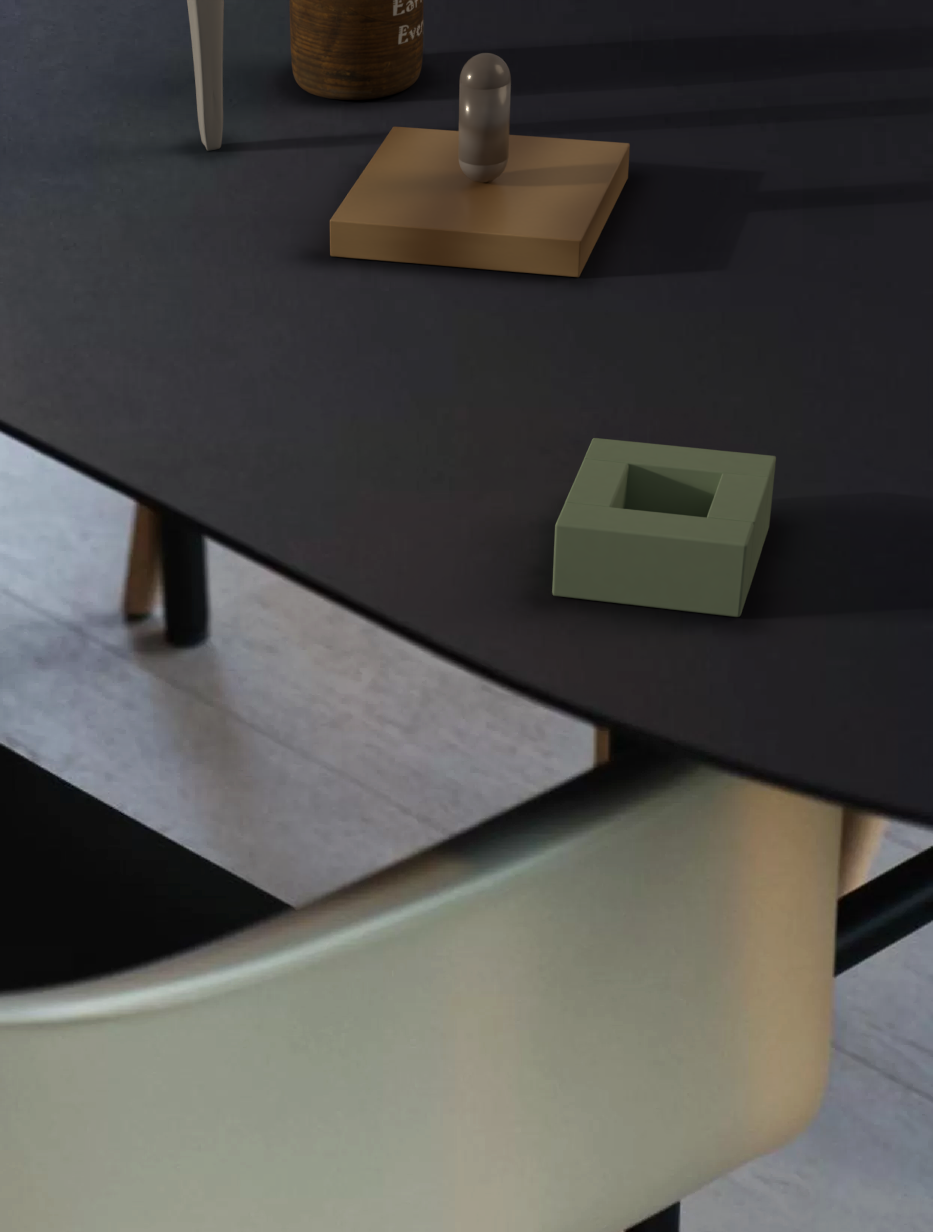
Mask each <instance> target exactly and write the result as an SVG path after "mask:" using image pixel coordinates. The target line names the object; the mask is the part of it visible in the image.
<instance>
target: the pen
mask: <svg viewBox="0 0 933 1232" xmlns="http://www.w3.org/2000/svg"><path fill="white" fill-rule="evenodd" d="M186 3H187V9H188V10H187V11H188V12H187V13H188V22H189V30H190V38H191V47H192V48H191V50H192V57H193V58H192V59H193V60H192V61H193V71H194V80H195V94H196V95H195V96H196V109H197V110H196V111H197V112H196V113H197V121H198V130H199V134H200V139H201V143H202V144H203V146H204V147H205V149H206V151H208V152H210V151H215V150H220V148H221V147H222V141H223V132H224V131H223V130H224V129H223V128H224V96H223V95H224V91H223V90H224V87H223V84H224V83H223V82H224V81H223V77H224V76H223V75H224V73H223V72H224V71H223V70H224V69H223V67H224V62H223V61H224V17H225V16H224V13H225V12H224V11H225V0H186Z"/></svg>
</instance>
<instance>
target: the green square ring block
mask: <svg viewBox="0 0 933 1232" xmlns="http://www.w3.org/2000/svg"><path fill="white" fill-rule="evenodd" d="M776 461H777V457H776V456H775V455H768V454H760V453H759V454H758V453H749V452H739V451H738V452H737V451H730V450H729V451H728V450H719V449H718V450H717V449H709V448H708V449H707V448H700V447H699V448H698V447H688V446H679V445H668V444H660V443H649V442H641V441H640V442H639V441H629V440H619V439H607V438H598V437H593V438H592V439H591V441H590V444H589V446H588V449H587V451H586V453H585V455H584V458H583V460H582V463H581V465H580V467H579V469H578V471H577V474H576V476H575V479H574V481H573V482H572V486H571V488H570V490H569V492H568V495H567V497H566V499H565V501H564V503H563V505H562V509H561V511H560V513H559V515H558V518H557V520H556V522H555V525H554V544H553V545H554V546H553V566H552V567H553V568H552V589H551V590H552V591H551V594H552V595H553V596H554V597H561V598H569V599H578V600H585V601H594V602H602V603H603V602H604V603H612V604H619V605H620V604H621V605H630V606H637V607H647V608H654V609H655V608H656V609H663V610H673V611H682V612H688V613H689V612H690V613H699V614H706V615H714V616H715V615H716V616H723V617H732V618H739V617H741V615H742V612H743V609H744V606H745V603H746V600H747V597H748V594H749V591H750V588H751V585H752V582H753V579H754V576H755V573H756V569H757V567H758V563H759V560H760V558H761V554H762V551H763V547H764V544H765V541H766V538H767V535H768V531H769V529H770V523H771V511H772V502H773V493H774V491H773V490H774V483H775V471H776V463H777V462H776Z"/></svg>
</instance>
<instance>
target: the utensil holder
mask: <svg viewBox="0 0 933 1232" xmlns="http://www.w3.org/2000/svg"><path fill="white" fill-rule="evenodd" d="M289 40H290V56H291V57H290V60H291V69H292V74H293V78H294V80H295V82H296V84H297V85H298V86H299V87H300V88H301V89H302V90H304V91H305V92H307V93H309V94H311V95H314V96H317V97H320V98H325V99H331V100H337V101H338V100H339V101H367V100H368V101H369V100H376V99H381V98H386V97H390V96H393V95H397V94H399V93H401V92H403V91H405V90H407V89H409V88H410V87H412V86H413V85H414V84H415V83H416V82H417V80H418V79H419V77H420V74H421V71H422V65H423V56H424V0H289Z"/></svg>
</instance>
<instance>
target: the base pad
mask: <svg viewBox="0 0 933 1232" xmlns="http://www.w3.org/2000/svg"><path fill="white" fill-rule="evenodd" d="M511 85H512V77H511V71H510V68H509V66H508V64H507V63H506V61H504V59H503V58H502V57H500V56H499V55H496V54H494V53H492V52H482V53H478V54H476V55H473V56H472V57H470V58H469V59H468V60H467V61H466V62H465V63H464V65H463V67H462V69H461V71H460V74H459V90H458V91H459V93H458V94H459V95H458V130H447V129H433V128H420V127H419V128H418V127H405V126H393V127H392V128H391V130H390V131H389V133H388V134H387V135H386V137H385V138H384V140H383V141H382V143H381V144H380V145H379V147H378V148H377V150H376V152H375V153H374V154H373V156H372V158H371V159H370V161H369V162H368V164H367V165H366V166H365V168H364V169H363V171H362V172H361V173H360V175H359V177H358V178H357V180H356V181H355V183H354V184H353V185H352V187H351V189H350V190H349V191H348V193H347V195H346V196H345V198H344V199H343V201H342V202H341V203H340V205H339V206H338V207H337V209H336V211H335V212H334V213H333V215H332V216H331V218H330V219H329V255H330V257H335V258H344V259H345V258H346V259H359V260H371V261H382V262H393V263H404V264H406V263H407V264H417V265H428V266H429V265H430V266H442V267H453V268H463V269H464V268H465V269H475V270H476V269H477V270H487V271H489V270H490V271H500V272H513V273H522V274H533V275H535V274H536V275H547V276H558V277H559V276H560V277H570V278H580V276H581V274H582V272H583V270H584V268H585V266H586V265H587V262H588V260H589V258H590V256H591V254H592V252H593V249H594V248H595V246H596V243H597V242H598V240H599V238H600V236H601V233H602V231H603V229H604V227H605V226H606V223H607V222H608V219H609V218H610V215H611V214H612V212H613V209H614V208H615V205H616V203H617V201H618V199H619V197H620V195H621V193H622V191H623V189H624V186H626V185H625V184H626V182H627V181H628V179H629V167H630V165H629V164H630V148H631V144H630V143H629V142H615V141H602V140H601V141H600V140H586V139H574V138H559V137H546V136H533V135H531V136H530V135H518V134H510V124H511V123H510V121H511V90H512V86H511Z"/></svg>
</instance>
